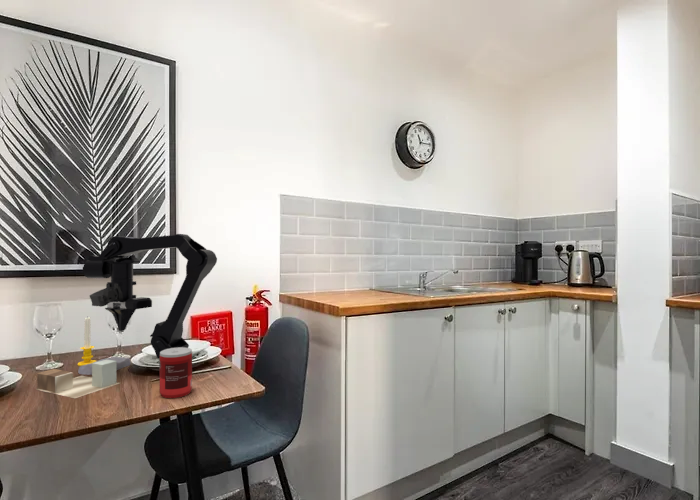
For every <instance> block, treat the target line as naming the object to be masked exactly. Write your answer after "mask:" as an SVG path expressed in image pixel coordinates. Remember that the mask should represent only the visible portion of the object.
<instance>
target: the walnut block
mask: <svg viewBox="0 0 700 500" xmlns="http://www.w3.org/2000/svg"><path fill="white" fill-rule="evenodd" d="M36 374H37V375H36V377H37V379H36V380H37V381H36V383H37V384H36V385H37V386H36V389H42V390H46V391H50V392H55V393H58V392H61V391H64V390H67V389H71V388H73V378H74V372H71V371H66V370H63V369H62V370H61V369H56V368H53V369H48V370H44V371H41V372H37V373H36Z"/></svg>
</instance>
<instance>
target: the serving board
mask: <svg viewBox="0 0 700 500" xmlns="http://www.w3.org/2000/svg"><path fill="white" fill-rule="evenodd" d="M119 384H121V382H117V381H116V383H115V384H112V385H109V386H106V387H103V388H100V387H96V386H92V376H86V375H79V376H77V377H76V376H75V377H73V388H71V389H67V390H64V391H61V392H58V393H55V392H50V391H46V390H42V389H37V388H35V390H37V391H41V392H44V393H48V394H49V393H50V394H54V395H59V396H63V397H67V398H71V399H77V398H80V397H83V396H84V397H85V396H86V395H89V394H92V393H96V392H99V391H101V390H105V389H108V388H111V387H114V386H116V385H119Z"/></svg>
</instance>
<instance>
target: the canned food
mask: <svg viewBox="0 0 700 500" xmlns="http://www.w3.org/2000/svg"><path fill="white" fill-rule="evenodd" d="M192 379H193V351H192V348H190V347H188V348H185V347H178V348H169V349H165V350H163V351H161V352H160V358H159V394H160V396H161V397H162V398H165V399H177V398H178V399H179V398H183V397H185V396H188V395H189V394H191V392H192V388H193V387H192V386H193V380H192Z"/></svg>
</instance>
